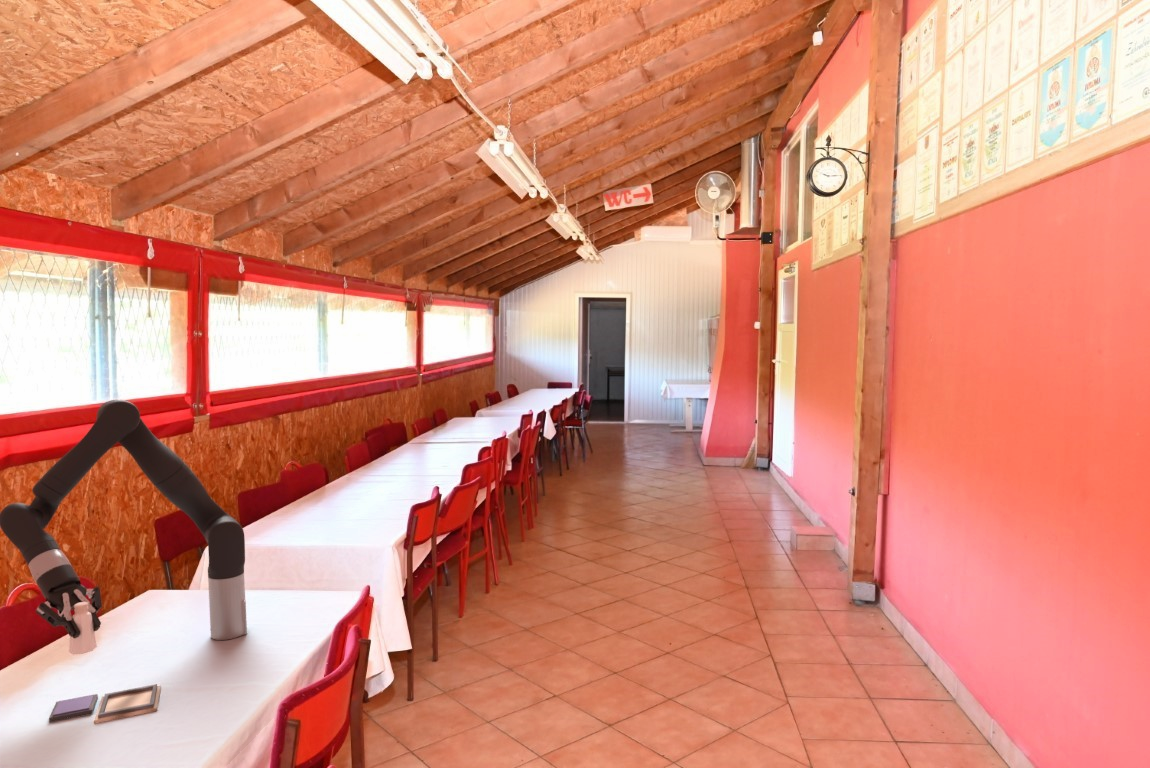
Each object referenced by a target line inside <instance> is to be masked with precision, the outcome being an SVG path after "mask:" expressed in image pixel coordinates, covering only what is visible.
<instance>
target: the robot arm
mask: <svg viewBox="0 0 1150 768" xmlns="http://www.w3.org/2000/svg"><path fill="white" fill-rule="evenodd" d="M116 444H119V445H120V446H122V447H123V448H124V450H125V451H127V452H128V453H129V454H130V456H131V457H132V458H133V460H134V462H135V463H136V464H137V466H138V467H139V469H141V471H142V473H144V475H145V476H146V478H147V479H148V480H149V481H150V483H152V485H153V486H154V488H156V489H157V490H158V491H159V492H160V493H161V494H162V495H163V496H164V498H166V499H167V500H168V501H169V502H170V503H171V504H173V505H174V506H175V507H177V508H178V509H179V510H180V511H182V512H183V513H184V514H186V515H187V516H188V518H190V519H191V520H192V521H193V522H194V524H195V525H196V527H197V528H198V530H199V531H200V532H201V534H202V535H203V537H204V539H205V541H206V543H207V546H208V547H207V548H208V551H207V552H208V566H207V582H208V601H209V602H208V603H209V604H208V605H209V606H208V607H209V623H210V624H209V625H210V630H209V631H210V638H211V639H213V640H217V641H223V640H224V641H225V640H231V639H236V638H238V637H241V636H244V635H247V634H248V627H247V626H248V624H247V623H248V621H247V606H246V604H247V603H246V602H247V601H246V586H245V584H246V583H245V564H246V544H245V543H246V542H245V541H246V540H245V531H244V527H242V525H241V524H240V523H239V522H238V521H237V520H236V519H235V518H234V517H233V516H231V515H230V514H228V513H227V512H226V511H225V510H224V509H223V508H222V507H221V506H220V505H219V504H218V503H216V502H215V500H214V499H213V498H212V497H211V496H210V494H209V492H208V491H207V489H206V487H205V486H204V485H203V483H202V482H201V480H200V479H199V478H198V476H197V475H196V474H195V473H194V472H193V470H192V469H191V468H190V467H189V465H187V463H186V462H185V461H184V460H183V459H182V458H181V457H180V456H179V455H178V454H177V453H176V452H175V451H173V450H172V449H171V448H170V447H168V445H166V444H165V443H164V442H162V441H161V440H160V439H158V437H156V436H155V435H154V434H153V433H152V431H151V430H150V428H149V427H148V426H147V424H146V423H145V422H144V421H143V419H142V418H141V413H140V410H139V408H138V407H137V406H136V405H135V404H134V403H133V402H130V401H128V400H124V399H111V400H108V401H105V402H104V403H102V404H101V405H100V407H99V408H98V410H97V412H96V421H95V422H94V423H93V425H92V426H91V428H90V429H89V430H88V432H87V433H86V434H85V435H84V437H83V438H81V440H79V442H78V443H77V444H75V446H73V447H72V448H71V449H70V450H69V451H68V452H66V454H64V455H63V456H62V457H61V458H60V459H58V461H56V462H55V463H54V465H52V466H51V467H50V468H49V469H48V470H47V471H46V472H45V474H43V476H42V477H40V479H39V480H38V481H37V482H36V483H35V484H34V486H33V487H32V490H31V491H32V493H33V495H34V498H33V500H32V501H31V503H30V504H29V505H28V504H26V503H23V502H14V503H9V504H8V505H5V507H3V508H2V509H1V511H0V529H1V530H2V532H3V534H4V535H5V536H6V537H7V539H8V540H10V542H11V543H12V544H13V545H14V546H15V547H16V548H17V550H19V552H20V553H21V556H22V557H23V559H24V561H25V563H26V565H27V566H28V568H29V571H30V575H31V576H32V578H33V580H34V582H35V584H36V585H37V587H38V588H39V590H40V592H41V594H42V596H43V597H44V598H45V602H41V603H40V604H39V605H38V606H37V608H36V609H35V613H36V614H38V616H40V617H41V618H42V619H43V620H45V621H46V622H47V623H48V624H49V625H51V626H52V627H53V628H57V627H58V626H62V627H64V629H65V630H66V632H67V633H68V636H69V637H70V636H71V637H73V638H77V637H79V635H80V633H81V632H80V630H79V628H78V626H77V625H76V623H75V621H74V620H72V616H73V615H72V613H71V611H72V610H74V609H75V608H74V605H75V604H77V603H80V602H88V612H90V613H91V615H92V620H93V628H94V632H97V631H98V630H99V629H100V628H101V625H102V622H101V620H100V618H99V617H98V615H97V613H98V612H99V611H100V609H102V607H103V603H102V596H101V587H99V586H94V587H93V588H86V586H84V585H83V584H82V582H81V580H80V577H79V575H78V574H77V572H76V570H75V569H74V567H73V565H72V564H71V562H70V560H69V558H68V557H67V556H66V554H65V553H64V552H63V550H62V549H61V548H60V546H59V544H58V542H57V540H55V538H54V537H53V536H52V534H50V533H49V532H47V531H45V530H44V529H46V528H47V526H48V525H49V524H50V522H51V520H52V519H53V517H54V515H55V514H56V512H57V511H58V508H59V506H60V504H61V503H62V501H63V500H64V499H65V498H66V497H67V496H68V495H69V494H70V492H71V491H72V490H73V489H74V488H76V486H77V485H79V483H80V482H81V480H82V479H83V478H84V477H85V476H86V475H87V474H88V472H90V470H91V469H92V468H93V467H94V466H95V465H96V463H97V462H98V461H99V460H101V458H102V457H103V456H104V455H105V454H106V453H107V452H108V451H109V450H111V449H112V448H113V446H115V445H116ZM86 596H87V597H88V599H87V597H86ZM89 599H90V600H89ZM54 609H55V610H56V611H57V612H56V611H55V610H54Z"/></svg>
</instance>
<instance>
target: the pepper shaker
mask: <svg viewBox="0 0 1150 768" xmlns="http://www.w3.org/2000/svg"><path fill="white" fill-rule="evenodd" d="M74 608H75V609H73V610H74V614H73V615H71V616H72V619H71V620H74V621H75V623H76V625H77V626H78V628H79V630H80V632H81V633H80V635H79V637H77V638H73V637H71V636H69V645H68V647H69V648H68V652H69V653H70V654H72V655H84V654H87V653H90V652H93V651H94V650H95V649H96V648H97V647H98V645H97V644H98V643H97V639H96V633H95V632H96V631H94V628H93V620H92V615H91V613H90V612H88V602H80V603H77V604H75V605H74Z"/></svg>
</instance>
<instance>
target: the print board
mask: <svg viewBox="0 0 1150 768" xmlns="http://www.w3.org/2000/svg"><path fill="white" fill-rule="evenodd" d="M161 691H162V685H158V684H157V683H156V684H150V685H145V686H141V687H135V688H129V689H124V690H119V691H113V692H108V693H105V694H104V695H103V696H101V699H100V701H99V705H98V706H97V710H96V714H95V717H94V719H93V723H94V724H98V723H102V722H108V721H112V720H119V719H123V718H127V717H133V716H137V715H143V714H147V713H152V712H156V711H158V708H159V702H160V695H161Z"/></svg>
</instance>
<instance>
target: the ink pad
mask: <svg viewBox="0 0 1150 768" xmlns="http://www.w3.org/2000/svg"><path fill="white" fill-rule="evenodd" d="M98 698H99V694H98V693H95V694H89V695H85V696H79V697H74V698H69V699H64V700H63V699H62V700H58V701H56V702H55V704H54V706H53V708H52V710H51V712H50V714H49V717H48V722H49V723H53V722H59V721H64V720H68V719H69V720H70V719H73V718H78V717H79V718H80V717H85V716H89V715H93V713H94V711H95V708H96V705H97V702H98Z"/></svg>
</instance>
